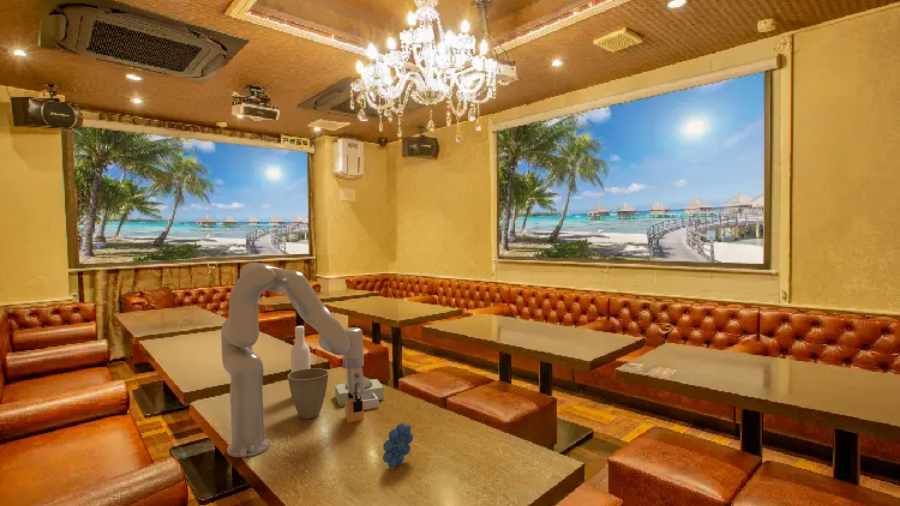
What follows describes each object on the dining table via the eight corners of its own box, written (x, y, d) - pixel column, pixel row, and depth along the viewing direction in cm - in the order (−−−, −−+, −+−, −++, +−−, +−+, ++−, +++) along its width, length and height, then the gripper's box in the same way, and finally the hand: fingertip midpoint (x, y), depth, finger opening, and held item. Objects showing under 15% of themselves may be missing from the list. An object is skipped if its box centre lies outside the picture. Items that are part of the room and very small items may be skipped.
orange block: (363, 419, 171) (363, 400, 171) (347, 422, 169) (347, 403, 168) (361, 415, 175) (360, 397, 175) (345, 417, 173) (344, 399, 173)
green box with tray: (389, 405, 184) (388, 391, 184) (343, 413, 177) (342, 398, 177) (377, 390, 203) (376, 377, 202) (335, 396, 196) (334, 383, 196)
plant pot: (332, 418, 172) (330, 376, 171) (290, 425, 167) (288, 381, 166) (327, 405, 186) (326, 366, 185) (288, 411, 181) (286, 370, 180)
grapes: (402, 452, 144) (402, 414, 144) (418, 459, 140) (417, 420, 140) (374, 467, 136) (373, 427, 135) (389, 474, 131) (388, 433, 131)
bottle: (291, 395, 198) (288, 325, 197) (310, 392, 202) (307, 324, 200) (293, 401, 191) (290, 329, 190) (312, 398, 194) (310, 327, 193)
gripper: (368, 366, 165) (370, 413, 165) (358, 354, 181) (360, 397, 181) (347, 369, 162) (349, 417, 163) (339, 357, 178) (341, 401, 179)
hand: (355, 406), depth 172 cm, fingers open, 9 cm apart
